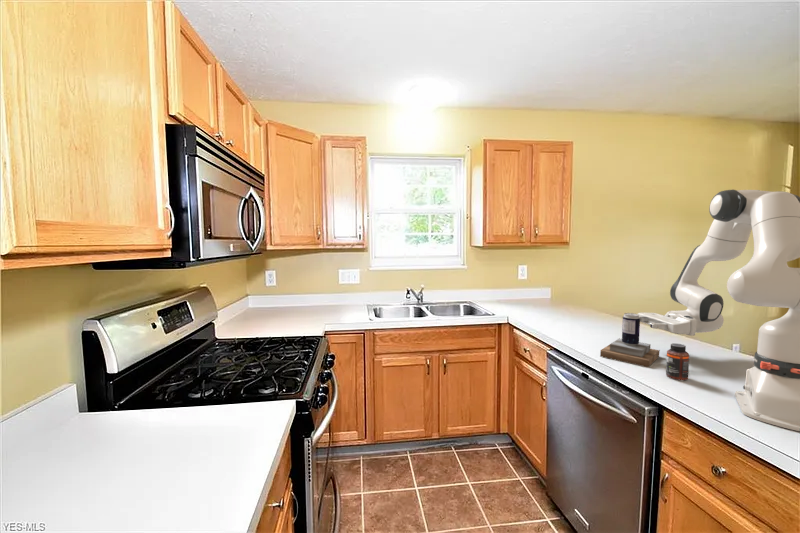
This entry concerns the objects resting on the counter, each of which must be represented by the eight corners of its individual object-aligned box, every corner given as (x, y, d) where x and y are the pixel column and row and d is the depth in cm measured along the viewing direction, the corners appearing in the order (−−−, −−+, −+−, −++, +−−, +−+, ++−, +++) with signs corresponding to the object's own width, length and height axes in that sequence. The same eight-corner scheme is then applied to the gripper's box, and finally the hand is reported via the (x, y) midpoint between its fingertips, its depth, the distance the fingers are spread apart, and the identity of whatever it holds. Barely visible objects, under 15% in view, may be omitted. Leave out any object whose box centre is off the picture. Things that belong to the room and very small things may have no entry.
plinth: (648, 367, 127) (648, 353, 127) (600, 356, 139) (600, 344, 139) (659, 356, 138) (659, 344, 137) (613, 347, 150) (614, 335, 149)
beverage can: (641, 346, 135) (643, 316, 134) (625, 346, 136) (626, 315, 135) (634, 342, 140) (636, 312, 139) (619, 341, 141) (620, 312, 140)
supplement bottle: (689, 377, 118) (691, 344, 117) (686, 382, 114) (688, 349, 113) (667, 372, 122) (668, 341, 121) (664, 377, 118) (665, 345, 117)
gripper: (656, 308, 148) (625, 309, 147) (699, 320, 127) (663, 321, 127) (656, 323, 148) (624, 323, 148) (698, 337, 128) (662, 338, 128)
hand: (642, 322), depth 137 cm, fingers open, 8 cm apart
